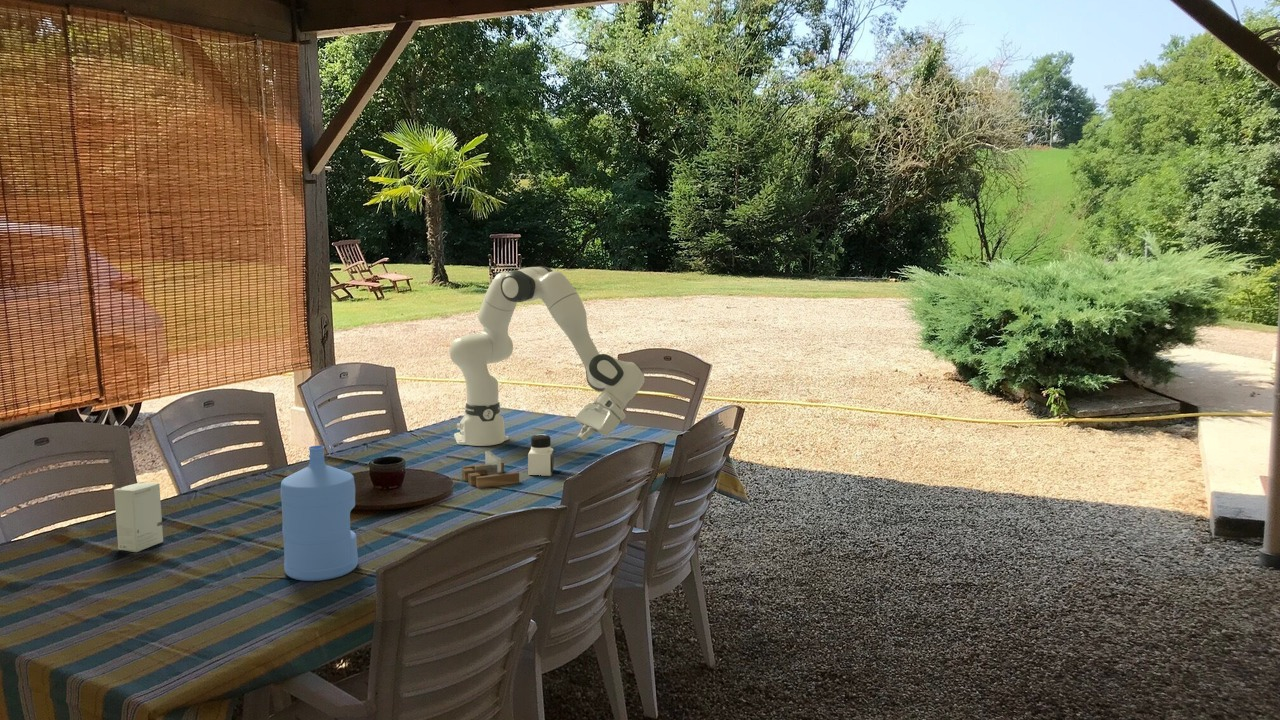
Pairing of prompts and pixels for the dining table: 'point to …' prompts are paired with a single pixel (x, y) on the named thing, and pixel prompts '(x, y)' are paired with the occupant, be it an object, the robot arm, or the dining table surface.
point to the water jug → (318, 521)
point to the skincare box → (138, 516)
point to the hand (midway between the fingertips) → (580, 438)
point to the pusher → (490, 464)
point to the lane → (487, 477)
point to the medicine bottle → (541, 456)
